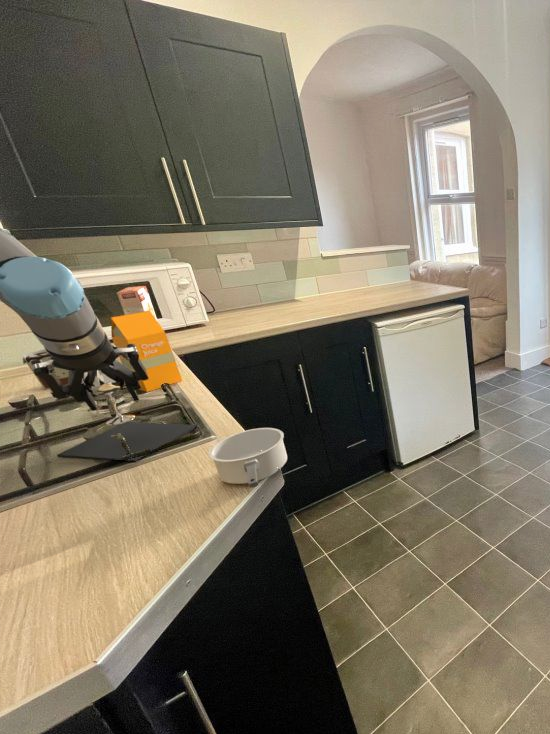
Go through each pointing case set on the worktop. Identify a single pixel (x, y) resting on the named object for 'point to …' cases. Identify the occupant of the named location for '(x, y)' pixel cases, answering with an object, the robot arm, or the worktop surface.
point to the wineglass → (106, 390)
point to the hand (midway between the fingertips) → (114, 399)
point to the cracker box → (135, 300)
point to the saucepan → (249, 455)
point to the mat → (127, 440)
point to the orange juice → (146, 348)
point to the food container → (43, 356)
